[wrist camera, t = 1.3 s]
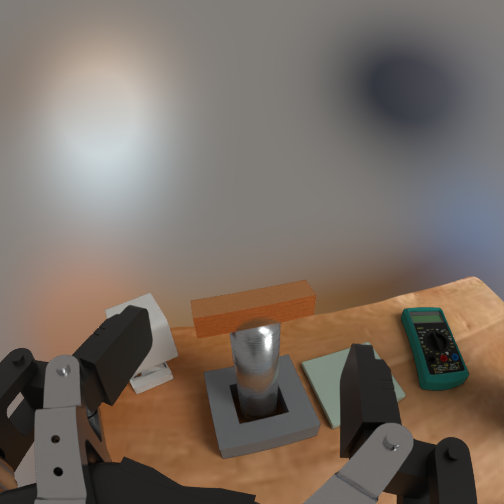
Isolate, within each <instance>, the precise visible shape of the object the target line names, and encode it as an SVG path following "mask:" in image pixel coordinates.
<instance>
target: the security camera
mask: <svg viewBox="0 0 504 504" xmlns="http://www.w3.org/2000/svg"><path fill="white" fill-rule="evenodd" d="M128 305H133V306H137V307H142V308H146V309H147V310H148V313H149V319H150V325H151V331H152V337H153V343H152V348H151V350H150V352H149V353H148V355H147V356H146V358H145V359H144V361H143V362H142V364H141V365H140V366H139V368H138V369H137V371H136V372H135V374H134V375H133V377H132V378H131V379H130V383H131V385H132V387H133V389H134V391H135V392H136V394H139V393H141V392H144V391H146V390H149V389H151V388H153V387H156V386H158V385H160V384H163V383H165V382H167V381H169V380H172V379H173V375H172V373H171V370H170V369H169V367H168V365H167V363H166V361H168V360H170V359H172V358H175V357H177V356H178V353H177V350H176V347H175V344H174V340H173V337H172V334H171V331H170V328H169V325H168V322H167V320H166V318H165V316H164V315H163V313H162V311H161V309H160V308H159V306H158V305H157V303H156V301H155V300H154V298H153V296H152V294H151V293H148V294H146V295H143V296H140V297H138V298H136V299H133V300H130V301H128V302H125V303H122V304H120V305H117V306H114V307H112V308H109V309H107V310H105V312H106V316H107V318H110V317H112V316H113V315H115V314H120V313H121V312H122V311H123V310H124V309H125V308H126V307H127V306H128ZM138 374H142V375H141V376H140V377H136V378H134V377H135V376H137V375H138Z"/></svg>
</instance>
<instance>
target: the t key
mask: <svg viewBox="0 0 504 504" xmlns="http://www.w3.org/2000/svg"><path fill="white" fill-rule="evenodd" d="M315 300H316V294H315V292H314V291H313V290H312V288H311V287H310V285H309V284H308V282H307V281H306V280H302V281H298V282H293V283H287V284H282V285H277V286H271V287H266V288H261V289H256V290H250V291H244V292H239V293H233V294H227V295H221V296H216V297H210V298H204V299H198V300H192V301H191V308H192V315H193V321H194V325H195V330H196V334H197V338H203V337H209V336H215V335H220V334H226V333H230V339H231V346H232V354H233V361H234V368H235V375H236V382H237V389H238V396H239V403H240V409H241V415H242V418H243V419H244V421H245V422H252V421H256V420H260V419H265V418H269V417H273V416H276V409H277V391H278V371H279V347H280V322H285V321H289V320H294V319H298V318H302V317H306V316H311V315H314V308H315Z"/></svg>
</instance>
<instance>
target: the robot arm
mask: <svg viewBox="0 0 504 504" xmlns="http://www.w3.org/2000/svg"><path fill="white" fill-rule="evenodd" d="M152 343H153V337H152V331H151V325H150V319H149V313H148V310H147V309H146V308H142V307H137V306H133V305H128V306H127V307H126V308H125V309H124V310H123V311H122V312H121V313H120V314H115V315H113V316H112V317H110V318H108V319H106V320H105V321H104V323H102V324H101V325H100V326H99V328H97V329H96V331H95V332H94V334H92V335H91V336H90V337H89V338H88V339H87V340H86V341H85V342H84V343H83V344H82V345H81V346H80V347H79V348H78V349H77V350H76V352H75V353H74V354H73V355H72V356H71V355H60V356H57V357H55V358H53V359H52V360H51V361H50V362H43V361H37V360H35V359H34V357H33V355H32V353H31V351H30V350H28V349H26V348H19V349H15V350H13V351H12V352H10V353H9V354H8V355H7V356H6V357H5V358H4V359H3V360H2V361H1V362H0V504H260V503H257V502H255V497H256V495H252V494H247V493H241V492H236V491H231V490H226V489H222V488H200V487H186V486H182V485H180V484H178V483H176V482H175V481H173V480H171V479H170V478H168V477H166V476H165V475H163V474H161V473H160V472H158V471H157V470H155V469H154V468H151V467H149V466H146V465H144V464H141V463H139V462H136V461H134V460H131V459H129V458H126V457H124V458H123V459H122V461H121V463H117V462H112V460H111V457H110V455H109V453H108V450H107V447H106V442H105V437H104V431H103V425H102V418H101V411H100V408H99V406H100V404H101V403H102V402H104V403H106V404H108V405H111V406H113V404H114V403H115V401H116V400H117V398H118V397H119V395H120V394H121V393H122V391H123V390H124V388H125V387H126V385H127V384H128V382H129V381H130V379H131V378H132V377H133V375H134V374H135V372H136V371H137V369H138V368H139V366H140V365H141V364H142V362H143V361H144V359H145V358H146V356H147V355H148V353H149V352H150V350H151V348H152ZM392 381H393V379H392V374H391V370H390V368H389V367H388V365H387V364H386V363H385V361H384V360H383V359H375V355H374V350H373V346H372V345H364V344H352V345H351V348H350V350H349V353H348V356H347V359H346V362H345V365H344V368H343V370H342V374H341V378H340V458H349V461H348V462H347V463H346V464H345V465H344V466H343V467H342V469H341V470H340V471H338V472H337V473H335V474H334V475H333V476H332V477H331V478H330V479H329V480H328V481H327V482H326V483H325V484H324V485H323V486H322V487H321V488H319V489H318V490H317V491H316V492H315V493H314V494H313V495H312V496H311V497H310V498H308V499H307V500H306V501H305V502H304V503H303V504H376V503H377V501H378V497H379V495H380V494H381V493H382V492H386V493H391V494H395V495H397V504H477V496H476V488H475V480H474V474H473V468H472V462H471V457H470V452H469V449H468V447H467V445H466V444H465V443H464V442H463V441H462V440H460V439H458V438H455V437H448V438H445V439H443V440H441V441H440V442H439V443H438V444H437V445H435V444H430V443H426V442H422V441H418V440H416V439H413V437H412V435H411V433H410V432H409V430H408V429H407V428H405V427H404V426H402V424H401V419H400V413H399V408H398V403H397V398H396V393H395V391H394V389H395V388H394V383H393V382H392ZM19 392H21V394H22V395H23V397H24V399H23V401H22V402H21V403H20V404H19V406H18V407H17V408H16V410H15V411H14V412H13V414H12V415H11V416H10V418H8V417H7V408H8V406H9V405H10V404H11V402H12V401H13V400H14V399H15V397H16V396H17V395H18V394H19ZM34 441H35V468H36V482H37V483H34V484H30V485H26V486H23V487H19V488H17V486H18V484H17V481H16V480H15V479H14V477H15V476H14V472H15V471H16V469H17V467H18V466H19V464H20V462H21V461H22V459H23V457H24V456H25V454H26V453H27V451H28V450H29V448H30V447H31V445H32V444H33V442H34Z"/></svg>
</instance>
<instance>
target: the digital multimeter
mask: <svg viewBox="0 0 504 504" xmlns="http://www.w3.org/2000/svg"><path fill="white" fill-rule="evenodd" d="M401 320H402V323H403V325H404V328H405V330H406V333H407V336H408V339H409V342H410V345H411V348H412V351H413V355H414V359H415V363H416V368H417V372H418V377H419V383H420V387H421V388H422V389H426V390H447V389H451V388H454V387H456V386H459V385H461V384H463V383H464V382H465V380H466V379H467V377H468V376H469V372H468V370H467V367H466V365H465V363H464V360H463V358H462V356H461V353H460V351H459V349H458V346H457V344H456V342H455V339H454V337H453V335H452V332H451V330H450V328H449V325H448V323H447V320H446V318H445V315H444V313H443V311H442V309H441V308H433V307H418V308H407V309H404V310H403V313H402V316H401ZM438 332H439V333H438ZM418 338H419V339H418ZM447 347H448V348H447ZM424 357H425V358H424ZM425 360H426V361H425Z"/></svg>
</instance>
